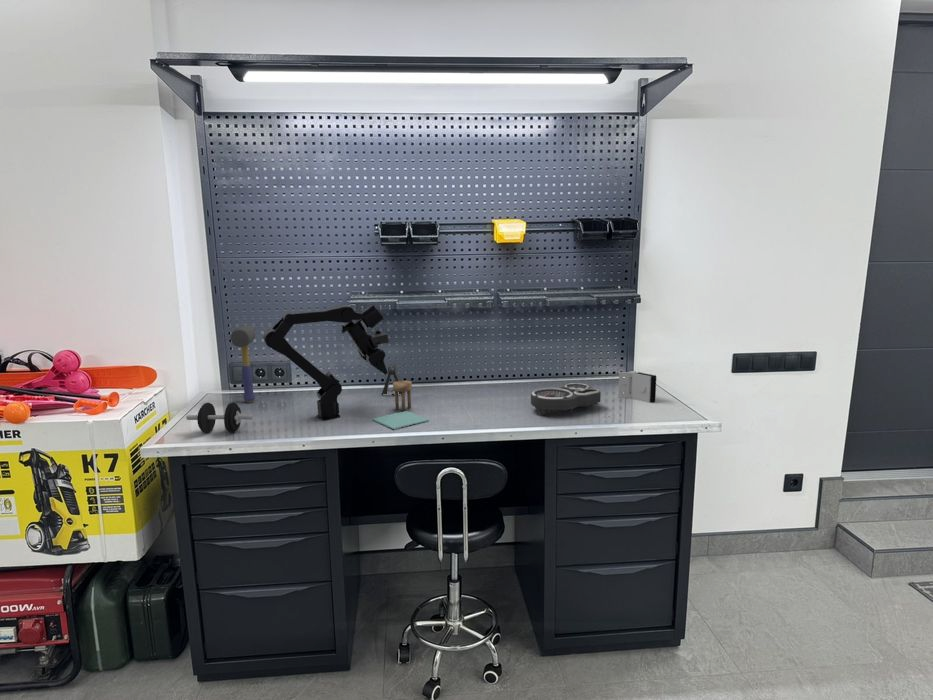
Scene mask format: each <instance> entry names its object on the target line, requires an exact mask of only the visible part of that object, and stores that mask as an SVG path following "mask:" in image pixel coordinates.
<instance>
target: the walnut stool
mask: <svg viewBox="0 0 933 700" xmlns="http://www.w3.org/2000/svg"><path fill="white" fill-rule="evenodd" d="M412 383H413V382H412V381H409V380H401V381H397V382H396V381H394V382H392V388H393V389H392V391H395V395H394V402H395V409H396V410H399V409H400V406H399V405H400V403H399V395H398V392H401V395H400V396H401V397H400V398H401V412H402V411H406V398H407V409H409V408H410V409H412V399H411V396H412V395H411V391H412V390H413V384H412ZM405 393H406V394H407V397H406V396H405V395H406V394H405ZM398 408H399V409H398Z"/></svg>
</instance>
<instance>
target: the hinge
mask: <svg viewBox="0 0 933 700" xmlns="http://www.w3.org/2000/svg"><path fill="white" fill-rule="evenodd" d="M623 377H624V378H623ZM656 387H657V376H656V374H652V373H645V372H643V371H638V372H637V371H635V370H634V371H633V370H631V371H627V372H626V371H625V372H624V371H619V372H618V393H617V394H618V395H617V397H618V399H633V400H636V401H641V402H645V403H649V404H650V403H651V404H653V403H656V397H657V395H656V393H657V392H656V391H657V388H656Z"/></svg>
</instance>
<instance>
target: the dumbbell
mask: <svg viewBox="0 0 933 700" xmlns="http://www.w3.org/2000/svg"><path fill="white" fill-rule="evenodd" d="M216 414H217V413H216V410H215V406H214V405H213V404H212V403H211V402H205V403H203V404H202V405H201V407H199V409H198V413H197V414H187V415H186V417H185V419H186V420H187V421H197V426H198V428H199V429H200V431H201V432H202V433H203V434H210V433H211V432H212V431H213V430H214V428H215V425H216V420H223V422H224V428H225V430H226V431H227V432H228V433H230V434H234V433H236V432H237V431H236V430H238V429H239V428H240V426H241V423H242V421H243V420H246V421H247V420H253V419H254V415H253V414H251V413H250V414H244V413H243V414H242V409H241V407H240V406H239V405H238V404H237V403H236V402H234V401H233V402H229V403H228V404H227V405H226V407H225V411H224V414H217V415H216ZM235 431H236V432H235ZM209 432H210V433H209Z"/></svg>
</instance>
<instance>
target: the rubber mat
mask: <svg viewBox="0 0 933 700" xmlns="http://www.w3.org/2000/svg"><path fill="white" fill-rule="evenodd" d="M373 420H374V421H373ZM372 421H373V422H375V421H376V422H375V423H377V422H378V424H379V425H382V424H383V425H382V426H384V425H385V426H384V427H386V426H387V428H388V427H390V428H392V429H396V430H398V429H397V428H400V427H404V428H406V427H405V426H408V427H410V426H409V425H412V426H414V425H413V424H416V425H418V424H417V423H420V424H423V423H422V422H425V423H427V422H426V421H429V422H430V419H428V418H426V417H424V416H421V415H419V414H416V413H414V412H411V411H408V410H405V411H404V412H402V411H399V412H395V413H392V414H391V413H390V414H387V415H383V416H378V417H374V418H372ZM390 428H389V429H390ZM392 429H391V430H392ZM400 429H401V428H400Z"/></svg>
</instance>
